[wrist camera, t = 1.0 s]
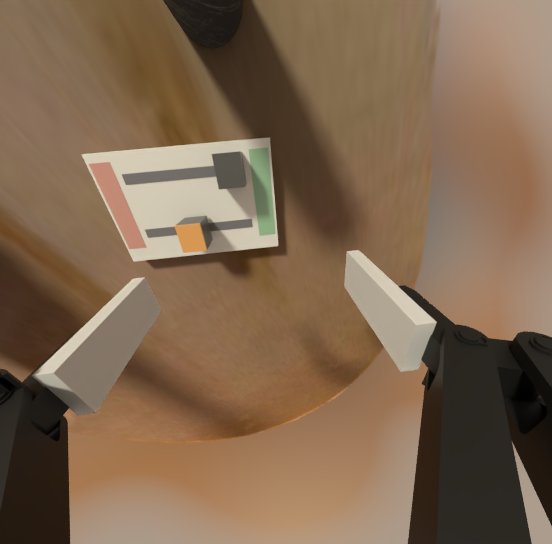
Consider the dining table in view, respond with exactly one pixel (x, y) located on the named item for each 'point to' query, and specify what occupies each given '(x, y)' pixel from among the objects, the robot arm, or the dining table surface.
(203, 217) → the breaker handle
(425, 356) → the robot arm
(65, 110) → the dining table surface
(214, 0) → the travel mug
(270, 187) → the board
